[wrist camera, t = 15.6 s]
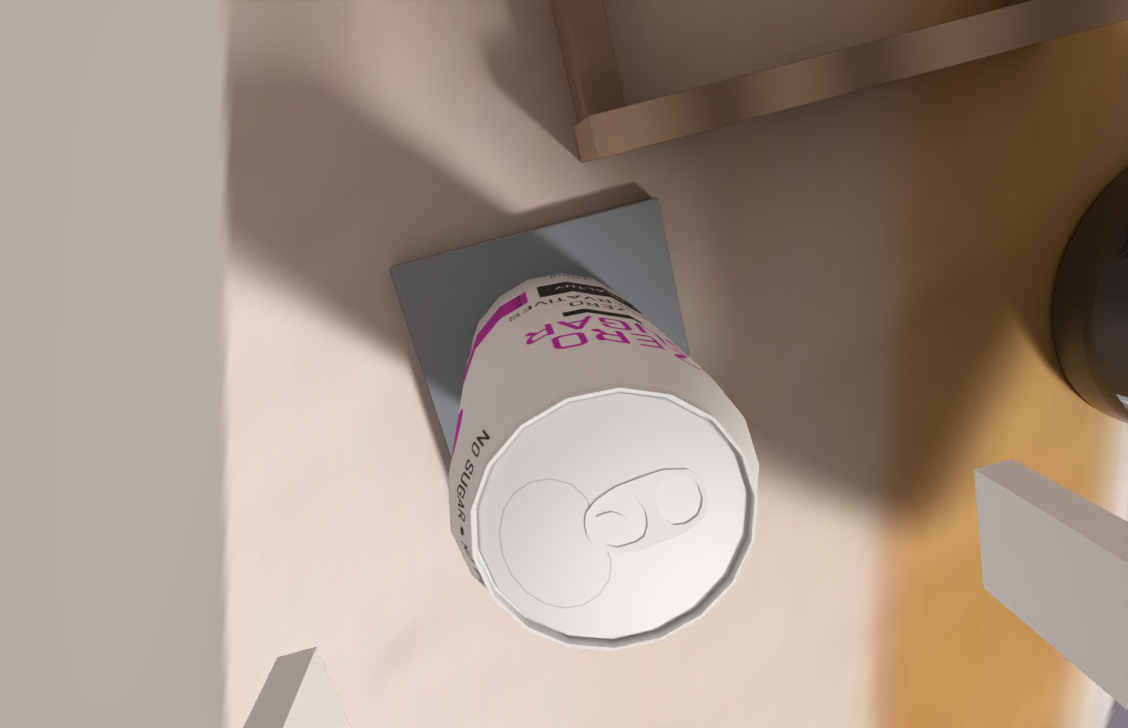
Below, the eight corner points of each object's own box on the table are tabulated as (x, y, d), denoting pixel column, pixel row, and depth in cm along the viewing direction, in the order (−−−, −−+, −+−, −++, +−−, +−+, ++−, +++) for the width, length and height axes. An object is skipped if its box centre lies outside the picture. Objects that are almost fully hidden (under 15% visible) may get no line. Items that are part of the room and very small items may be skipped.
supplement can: (509, 469, 31) (520, 715, 17) (440, 310, 29) (386, 438, 15) (669, 408, 31) (816, 603, 17) (613, 244, 29) (729, 307, 14)
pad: (652, 197, 29) (657, 198, 29) (701, 436, 33) (707, 444, 32) (392, 266, 29) (389, 269, 28) (469, 500, 33) (468, 510, 32)
